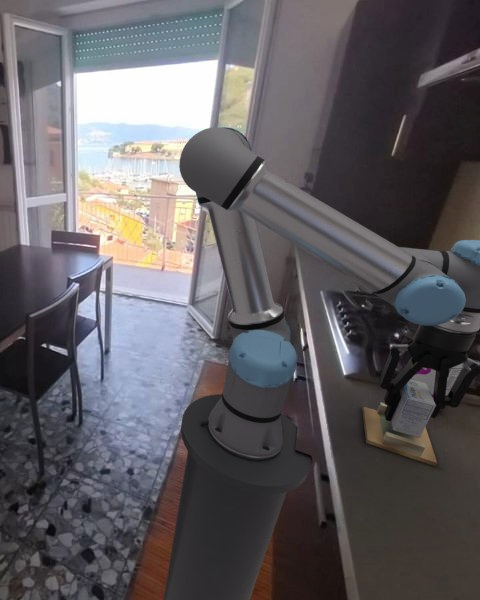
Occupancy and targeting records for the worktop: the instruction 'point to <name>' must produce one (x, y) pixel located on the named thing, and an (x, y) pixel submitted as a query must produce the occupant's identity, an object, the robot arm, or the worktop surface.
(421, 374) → the supplement can
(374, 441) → the mount pad
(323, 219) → the robot arm
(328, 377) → the worktop surface
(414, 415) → the medicine box
